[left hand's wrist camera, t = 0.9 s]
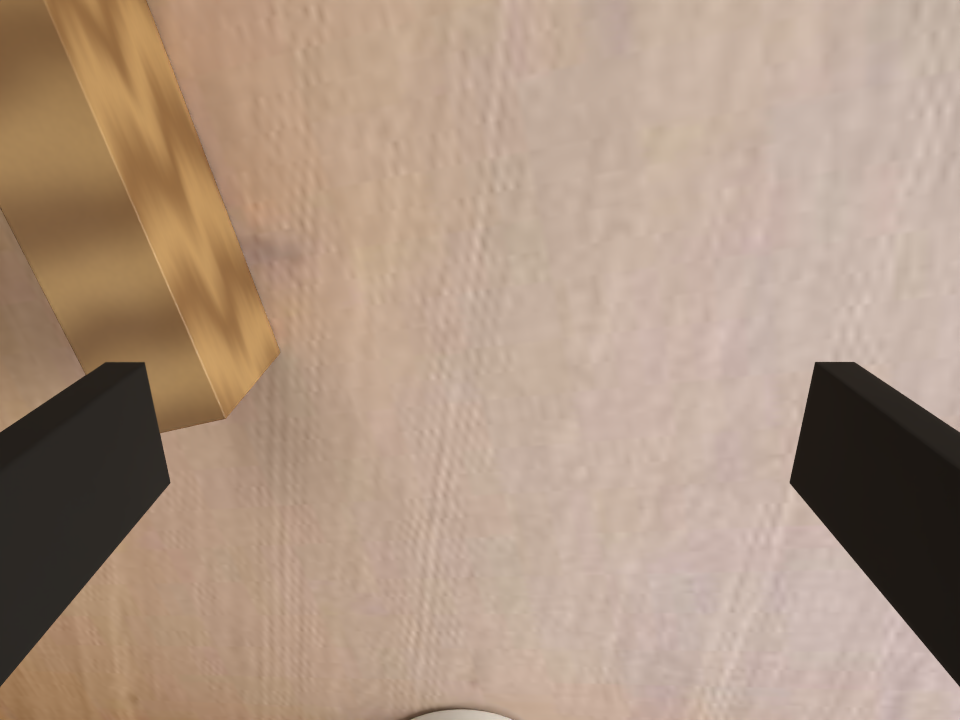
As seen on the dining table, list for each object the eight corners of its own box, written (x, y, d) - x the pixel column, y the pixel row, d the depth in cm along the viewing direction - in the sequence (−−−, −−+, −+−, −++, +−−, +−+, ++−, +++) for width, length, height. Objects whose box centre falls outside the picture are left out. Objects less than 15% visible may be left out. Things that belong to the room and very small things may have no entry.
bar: (7, -58, 29) (-170, -122, 21) (112, -90, 28) (-28, -167, 20) (196, 372, 36) (119, 442, 29) (281, 352, 36) (226, 419, 28)
